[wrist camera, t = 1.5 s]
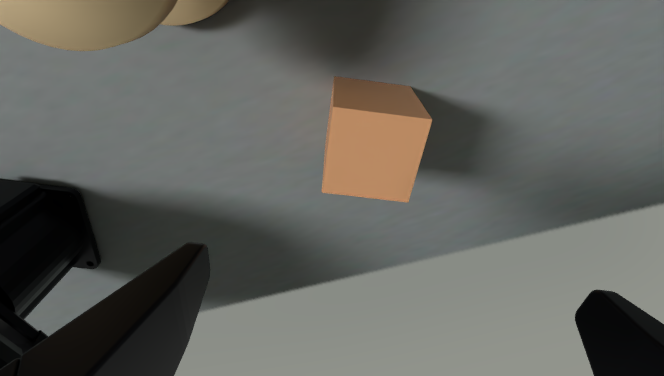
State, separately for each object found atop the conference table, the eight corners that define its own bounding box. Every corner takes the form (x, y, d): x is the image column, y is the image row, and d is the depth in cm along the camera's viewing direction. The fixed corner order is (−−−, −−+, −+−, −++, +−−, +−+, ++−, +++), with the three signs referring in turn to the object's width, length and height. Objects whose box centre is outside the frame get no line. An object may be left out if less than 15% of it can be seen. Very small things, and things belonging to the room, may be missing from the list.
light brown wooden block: (393, 154, 20) (408, 202, 16) (325, 146, 20) (321, 192, 16) (410, 86, 18) (432, 119, 14) (334, 76, 18) (333, 107, 14)
